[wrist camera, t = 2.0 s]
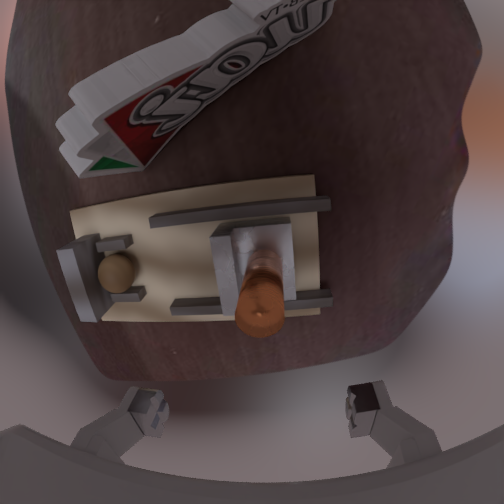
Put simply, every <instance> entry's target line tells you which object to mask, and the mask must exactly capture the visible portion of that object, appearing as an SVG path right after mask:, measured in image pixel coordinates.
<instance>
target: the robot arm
mask: <svg viewBox="0 0 504 504" xmlns="http://www.w3.org/2000/svg"><path fill="white" fill-rule="evenodd" d="M347 394H348V397H347V398H346V416H347V419H348V420H350V421H349V426H348V427H349V432H350V436H351V438H353V437H361V436H367V435H370V437H371V438H372V439H374V440H375V441H376V442H377V443H378V444H379V445H380V446H381V447H382V448H383V449H384V450H385V451H386V452H387V453H388V454H389V455H391V456H392V459H391V461H390V463H389V465H388V467H387V468H386V469H383V470H378V471H373V472H368V473H363V474H358V475H352V476H346V477H339V478H332V479H324V480H313V481H302V482H280V483H249V482H228V481H215V480H205V479H196V478H189V477H182V476H176V475H170V474H165V473H159V472H154V471H150V470H145V469H141V468H136V467H132V466H129V465H125V463H124V462H123V461H122V460H121V459H120V456H122V455H123V454H124V453H125V452H126V451H128V450H129V449H130V448H131V447H132V446H134V444H136V443H137V442H138V441H139V440H141V439H142V438H143V437H144V435H145V436H151V437H158V438H160V437H161V435H162V432H163V429H164V425H163V423H164V422H165V421H167V419H168V416H169V406H168V403H167V402H166V401H165V400H164V399H163V396H164V395H163V393H162V391H161V390H154V389H148V388H140V387H133V386H132V387H130V388H129V389H128V392H127V393H126V395H125V397H124V398H123V400H122V402H121V404H120V405H119V407H118V409H114V410H112V411H111V412H109V413H107V414H106V415H104V416H102V417H100V418H99V419H97V420H95V421H93V422H92V423H90V424H89V425H87V426H85V427H83V428H81V429H80V430H79V432H78V433H77V435H76V437H75V438H74V440H73V442H72V443H71V445H70V446H68V445H66V444H63V443H61V442H58V441H56V440H54V439H51V438H49V437H47V436H45V435H43V434H40V433H39V432H37V431H35V430H32V429H30V428H28V427H26V426H25V425H20V424H19V425H16V426H13V427H10V428H8V429H5V430H3V431H1V432H0V504H504V424H503V425H501V426H500V427H498V428H495V429H494V430H492V431H490V432H488V433H485V434H483V435H481V436H479V437H477V438H475V439H473V440H470V441H468V442H466V443H463V444H461V445H459V446H456V447H454V448H451V449H449V450H446V451H443V452H442V450H441V447H440V445H439V442H438V440H437V437H436V435H435V433H434V431H433V430H432V429H430V428H429V427H427V426H426V425H424V424H423V423H421V422H419V421H418V420H416V419H415V418H413V417H412V416H410V415H409V414H407V413H405V412H404V411H403V410H401V409H400V408H398V407H397V406H395V407H393V405H392V402H391V400H390V397H389V394H388V392H387V389H386V387H385V384H384V382H383V381H382V380H381V381H376V382H371V383H370V382H369V383H364V384H359V385H351V386H348V389H347Z"/></svg>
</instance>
